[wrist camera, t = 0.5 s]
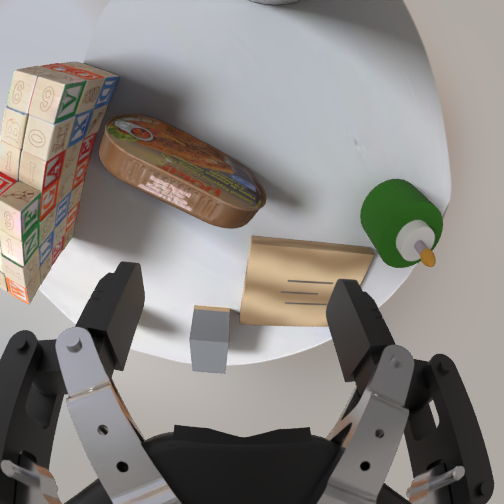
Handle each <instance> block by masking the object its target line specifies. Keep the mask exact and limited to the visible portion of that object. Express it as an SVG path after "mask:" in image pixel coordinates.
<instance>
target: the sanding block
mask: <svg viewBox="0 0 504 504" xmlns="http://www.w3.org/2000/svg"><path fill="white" fill-rule="evenodd" d="M229 318H230V308H220V307H207V306H196V305H195V306H194V312H193V319H192V326H191V333H190V350H191V360H192V368H193V371H198V372H209V373H222V374H223V373H224V374H225V370H226V362H227V353H228V344H229Z"/></svg>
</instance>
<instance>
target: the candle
mask: <svg viewBox="0 0 504 504" xmlns="http://www.w3.org/2000/svg"><path fill="white" fill-rule="evenodd" d="M360 217H361V224H362V226H363V229H364V230H365V232H366V233H367V235H368V237H369V238H370V240H371V241H372V243H373V245H374V246H375V248H376V250H377V251H378V253H379V255H380V256H381V258H382V260H383V261H384V262H385V263H386V264H387V265H389V266H391V267H395V268H404V267H409V266H411V265H414V264H416V263H418V262H420V261H422V262H423V264H425V265H426V266H428V267H432V266H434V265H435V256H434V253H433V252H432V250H433V249H434V247H435V246H436V245H437V243H438V241H439V239H440V236H441V233H442V227H443V220H442V216H441V213H440V211H439V210H438V209H437V208H436V207H435V206H434V205H433V204H432V203H431V202H430V201H429V200H428V199H427V198H426V197H425V196H424V195H423V194H422V193H421V192H419V191H418V190H417V189H416V188H415V187H414V186H413V185H412V184H410V183H409V182H407V181H405V180H401V179H391V180H387V181H385V182H383V183H381V184H379V185H378V186H376V187H375V188H374V189H373V190H372V191H371V192H370V193H369V194H368V196H367V197H366V199H365V201H364V203H363V206H362V209H361V216H360Z"/></svg>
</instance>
